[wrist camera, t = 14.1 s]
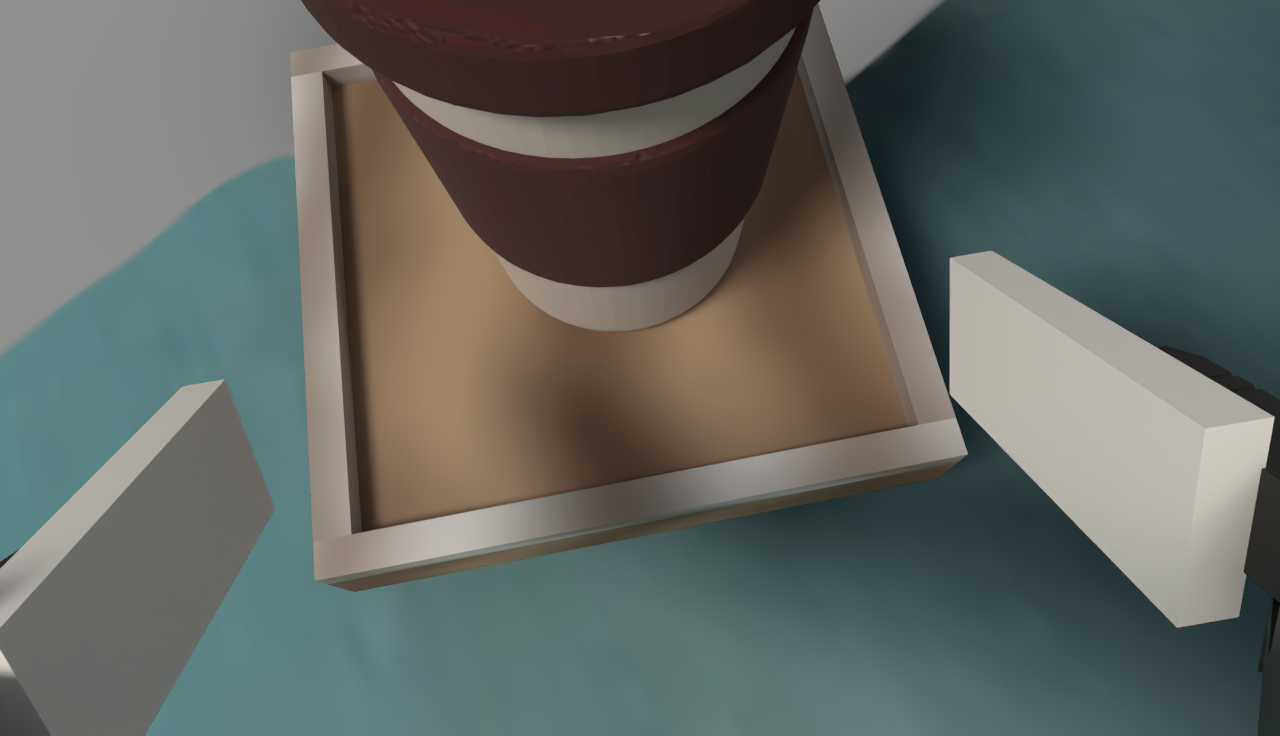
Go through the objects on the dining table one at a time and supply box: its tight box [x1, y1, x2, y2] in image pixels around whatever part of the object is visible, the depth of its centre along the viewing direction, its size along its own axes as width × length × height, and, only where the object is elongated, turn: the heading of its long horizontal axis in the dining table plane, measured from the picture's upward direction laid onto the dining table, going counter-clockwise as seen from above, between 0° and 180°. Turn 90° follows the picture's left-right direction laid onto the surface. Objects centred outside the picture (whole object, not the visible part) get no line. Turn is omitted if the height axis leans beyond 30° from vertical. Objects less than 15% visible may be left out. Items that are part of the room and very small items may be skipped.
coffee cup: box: [301, 0, 820, 332], centre depth 18 cm, size 10×10×15 cm
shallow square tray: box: [290, 4, 968, 592], centre depth 27 cm, size 17×17×6 cm
